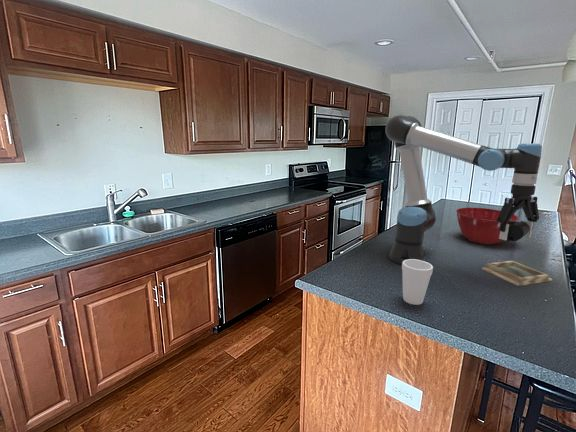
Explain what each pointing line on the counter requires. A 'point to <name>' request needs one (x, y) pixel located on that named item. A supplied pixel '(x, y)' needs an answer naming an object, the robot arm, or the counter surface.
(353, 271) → the counter surface
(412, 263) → the foam cup
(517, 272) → the picture frame
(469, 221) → the mixing bowl
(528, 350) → the counter surface
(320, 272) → the counter surface
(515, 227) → the end cap
